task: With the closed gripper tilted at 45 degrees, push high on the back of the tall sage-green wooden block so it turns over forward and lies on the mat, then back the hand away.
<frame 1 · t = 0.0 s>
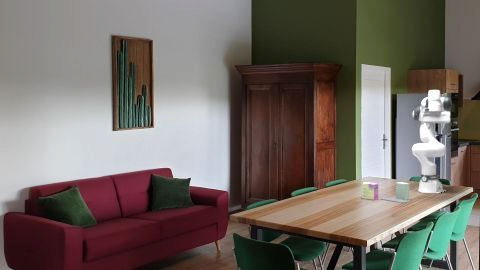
hand: (435, 128, 375), 52 cm above the table, tool tilted 20°, fingers open, 8 cm apart
box: (370, 199, 387), on the table
mat: (395, 200, 380), on the table
block: (402, 199, 385), on the table
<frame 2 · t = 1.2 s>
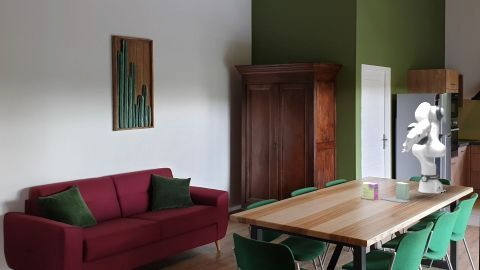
hand: (402, 149, 383), 37 cm above the table, tool tilted 50°, fingers open, 8 cm apart
nothing on the table moved.
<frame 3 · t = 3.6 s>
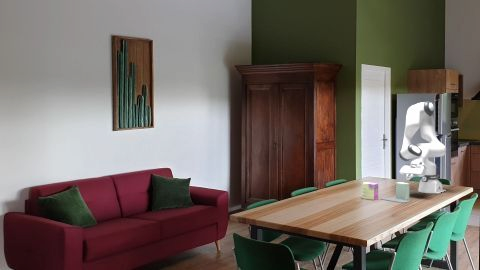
hand: (407, 179, 389), 14 cm above the table, tool tilted 45°, fingers closed
nothing on the table moved.
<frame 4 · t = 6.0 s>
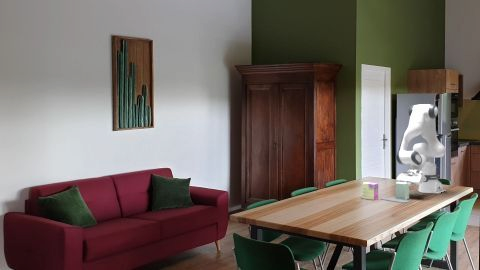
hand: (405, 187, 385), 9 cm above the table, tool tilted 45°, fingers closed
block: (402, 198, 385), on the table, touching gripper
everything else where it was.
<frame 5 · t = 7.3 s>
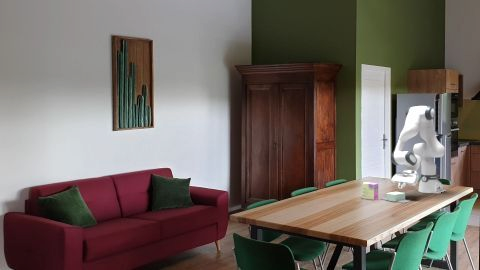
hand: (399, 188, 382), 9 cm above the table, tool tilted 45°, fingers closed
block: (400, 195, 383), point 3 cm above the table, tilted 90°, touching mat
everything else where it was.
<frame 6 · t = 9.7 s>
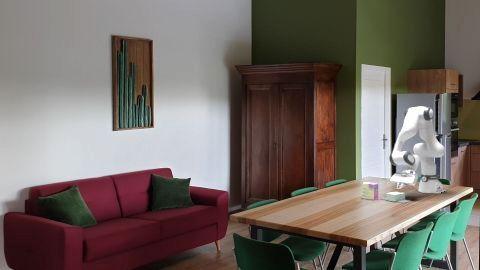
hand: (398, 188, 381), 8 cm above the table, tool tilted 45°, fingers closed
nothing on the table moved.
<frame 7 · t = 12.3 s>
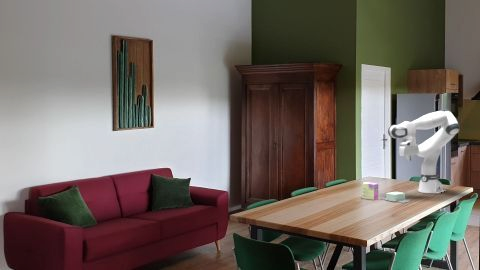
hand: (409, 161, 388), 28 cm above the table, tool pointing down, fingers closed
nothing on the table moved.
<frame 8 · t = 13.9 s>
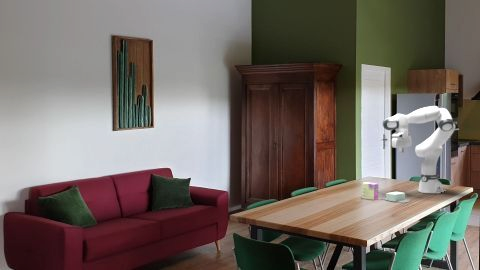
hand: (401, 153, 395), 33 cm above the table, tool pointing down, fingers closed
nothing on the table moved.
at the end: block tilted 90°; block touching mat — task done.
